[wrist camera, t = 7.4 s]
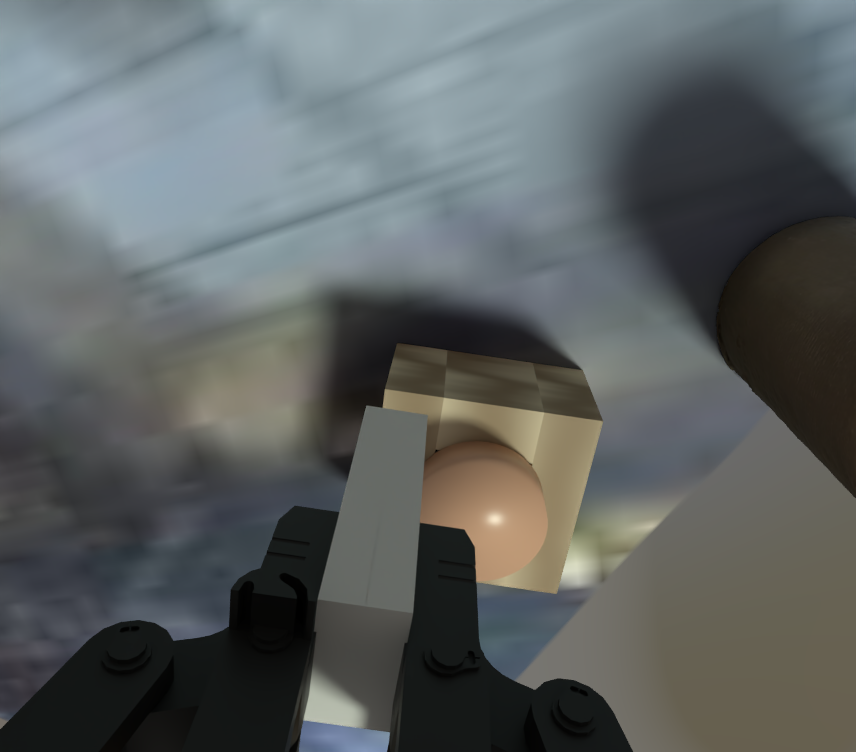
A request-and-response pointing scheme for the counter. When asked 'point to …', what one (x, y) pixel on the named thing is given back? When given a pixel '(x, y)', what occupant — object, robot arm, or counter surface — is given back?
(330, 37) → the counter surface
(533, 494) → the knob
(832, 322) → the pillar candle
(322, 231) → the counter surface
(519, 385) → the housing
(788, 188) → the counter surface
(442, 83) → the counter surface
